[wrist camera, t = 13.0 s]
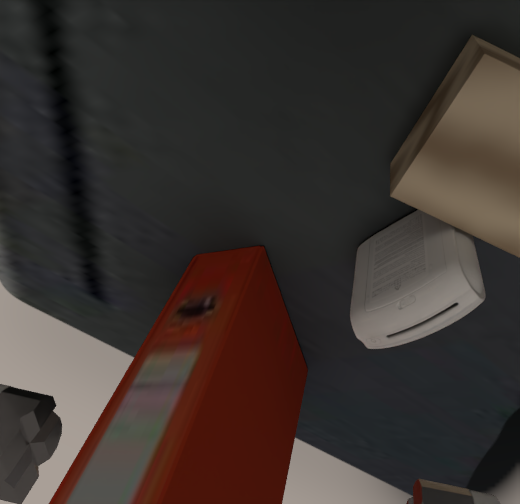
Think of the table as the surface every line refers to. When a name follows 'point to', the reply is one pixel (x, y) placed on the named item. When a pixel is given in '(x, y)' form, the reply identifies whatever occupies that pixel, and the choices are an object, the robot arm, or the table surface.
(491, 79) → the oak box
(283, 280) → the table surface
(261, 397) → the file binder
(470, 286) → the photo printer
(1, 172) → the table surface
